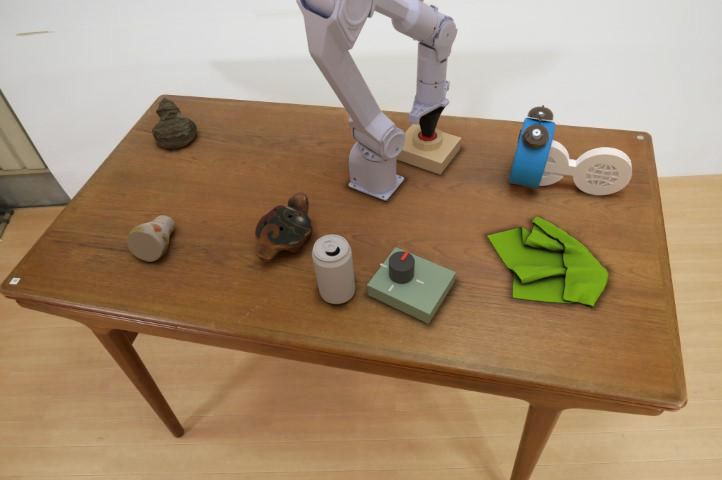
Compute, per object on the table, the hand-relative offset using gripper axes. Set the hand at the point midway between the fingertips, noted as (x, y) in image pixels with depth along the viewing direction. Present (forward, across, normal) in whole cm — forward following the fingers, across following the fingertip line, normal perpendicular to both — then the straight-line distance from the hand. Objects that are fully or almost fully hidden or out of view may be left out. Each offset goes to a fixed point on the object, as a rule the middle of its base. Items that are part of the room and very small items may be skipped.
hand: (427, 135), depth 105 cm
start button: (+2, 0, 0) cm, 2 cm away
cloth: (+5, -17, -33) cm, 37 cm away
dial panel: (+5, -35, -15) cm, 38 cm away
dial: (+2, -35, -13) cm, 37 cm away
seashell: (+5, -25, +54) cm, 60 cm away
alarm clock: (+5, +2, -22) cm, 23 cm away
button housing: (+5, 0, 0) cm, 5 cm away
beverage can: (+5, -42, -4) cm, 43 cm away
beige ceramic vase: (+5, -50, +33) cm, 60 cm away
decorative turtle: (+5, -37, +11) cm, 39 cm away
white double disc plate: (+5, +4, -30) cm, 31 cm away
